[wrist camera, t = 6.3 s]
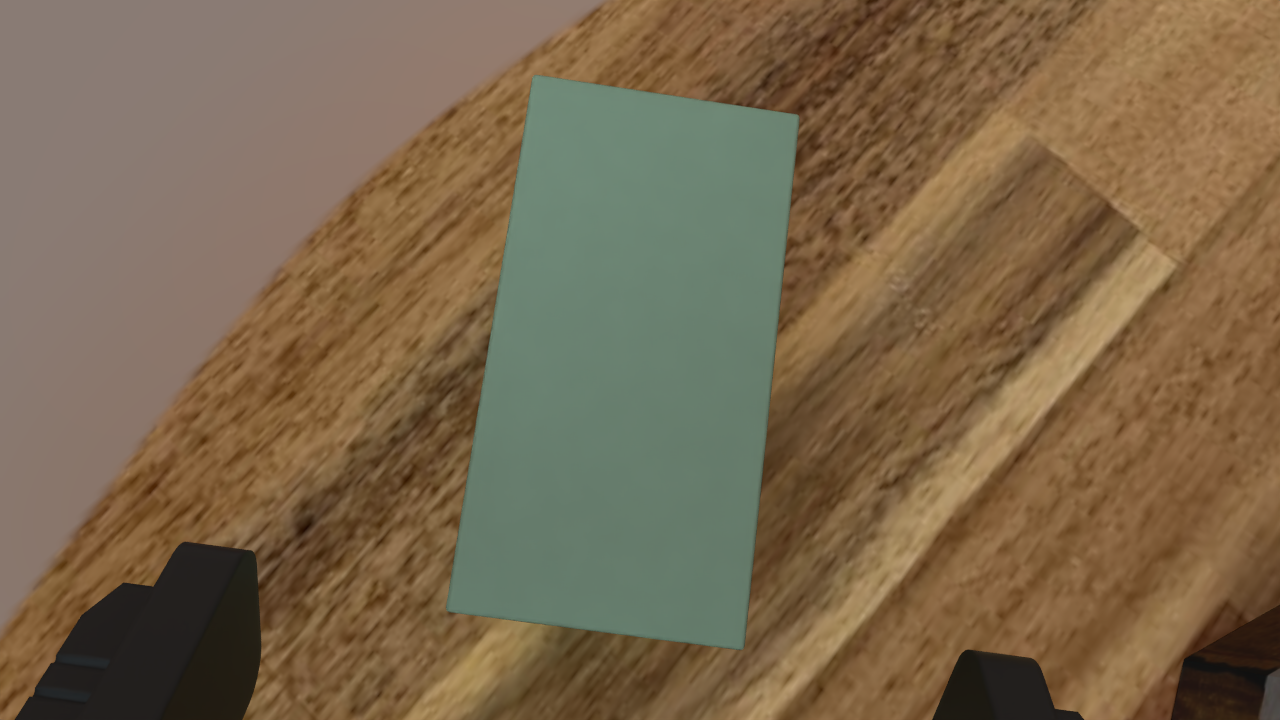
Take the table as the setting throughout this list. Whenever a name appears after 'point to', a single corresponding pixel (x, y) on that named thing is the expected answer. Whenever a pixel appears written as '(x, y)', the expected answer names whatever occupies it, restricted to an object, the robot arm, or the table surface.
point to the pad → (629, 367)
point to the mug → (1234, 675)
